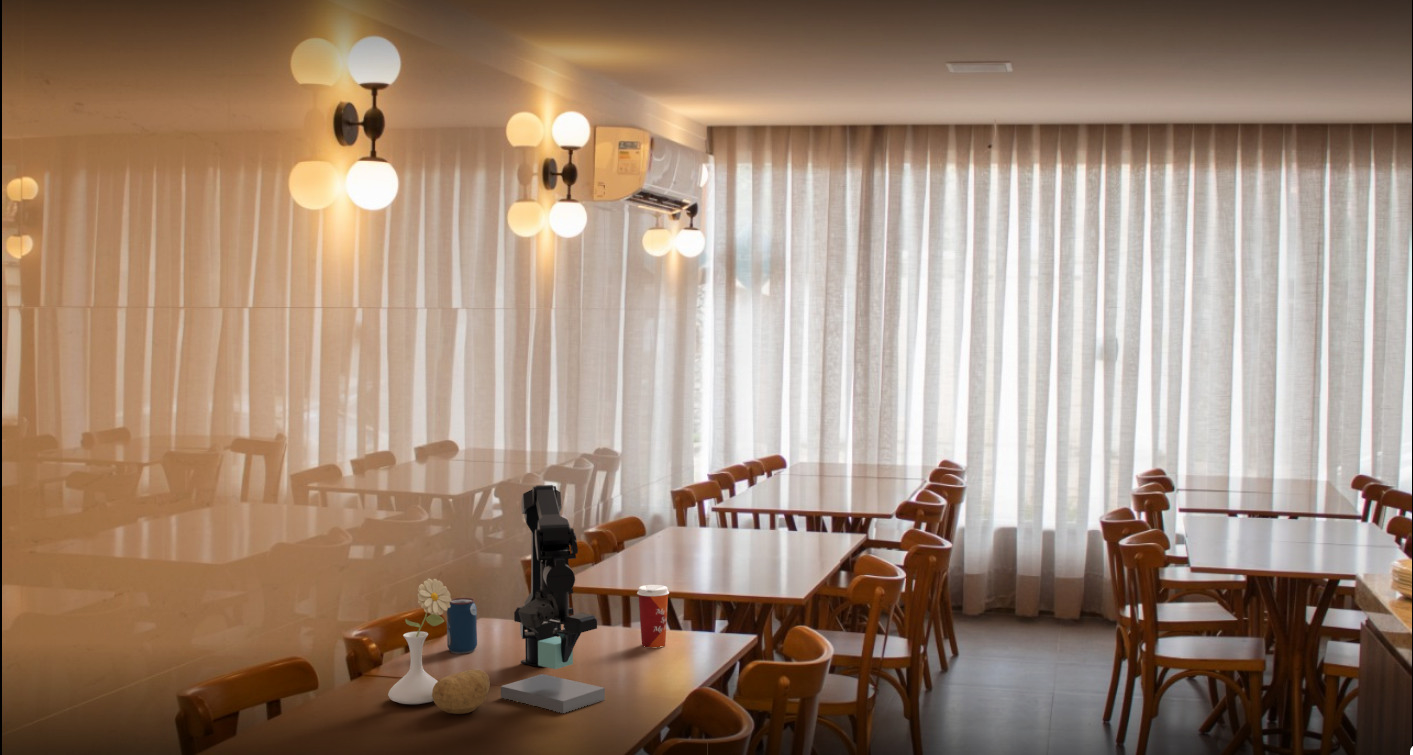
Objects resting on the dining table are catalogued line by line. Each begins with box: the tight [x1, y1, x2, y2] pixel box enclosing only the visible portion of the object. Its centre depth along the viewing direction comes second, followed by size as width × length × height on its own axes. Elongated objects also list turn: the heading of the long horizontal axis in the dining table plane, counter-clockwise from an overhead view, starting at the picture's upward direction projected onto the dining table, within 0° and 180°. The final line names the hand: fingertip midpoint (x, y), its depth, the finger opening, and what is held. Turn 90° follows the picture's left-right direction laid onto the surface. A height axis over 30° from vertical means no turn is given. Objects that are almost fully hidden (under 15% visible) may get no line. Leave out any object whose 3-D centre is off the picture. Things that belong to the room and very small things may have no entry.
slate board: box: [500, 673, 606, 714], centre depth 271 cm, size 18×12×2 cm, turn 52°
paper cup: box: [636, 584, 670, 648], centre depth 316 cm, size 8×8×14 cm
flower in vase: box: [387, 578, 452, 705], centre depth 270 cm, size 13×11×25 cm
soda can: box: [446, 597, 478, 655], centre depth 312 cm, size 7×7×12 cm
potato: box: [432, 668, 491, 715], centre depth 263 cm, size 10×14×8 cm
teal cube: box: [538, 636, 574, 670], centre depth 270 cm, size 5×5×5 cm
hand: (555, 659), depth 270 cm, fingers closed on teal cube, 5 cm apart
